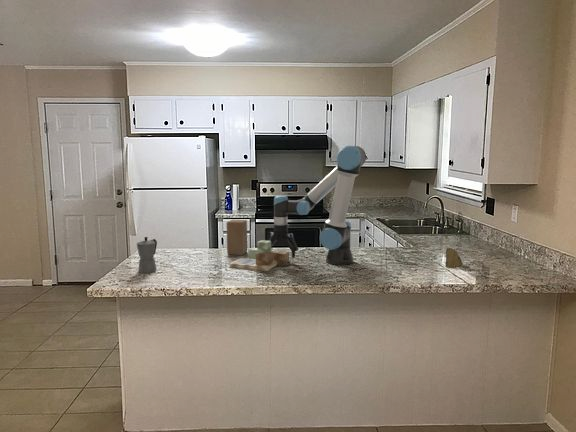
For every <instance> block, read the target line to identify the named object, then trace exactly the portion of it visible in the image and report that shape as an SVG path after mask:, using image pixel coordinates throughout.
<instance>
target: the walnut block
mask: <svg viewBox="0 0 576 432" xmlns="http://www.w3.org/2000/svg"><path fill="white" fill-rule="evenodd" d="M273 261H277V265H286V264H288V263H289V262H290V251H289V250H288V251H287V250H275V251H273Z"/></svg>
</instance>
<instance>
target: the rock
mask: <svg viewBox="0 0 576 432" xmlns="http://www.w3.org/2000/svg"><path fill="white" fill-rule="evenodd" d="M460 266H463V260H462V259H461V257H460V256H459V254H458V251H457V250H456V249H453V248H451V247H447V248H446V250H445V265H444V267H445V268H447V269H449V268H451V269H452V268H457V267H460Z"/></svg>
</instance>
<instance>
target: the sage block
mask: <svg viewBox="0 0 576 432" xmlns="http://www.w3.org/2000/svg"><path fill="white" fill-rule="evenodd" d="M247 252H248V258H247V259H256V253H257V247H251V248H249V249H247Z"/></svg>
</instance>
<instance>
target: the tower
mask: <svg viewBox="0 0 576 432" xmlns="http://www.w3.org/2000/svg"><path fill="white" fill-rule="evenodd" d="M271 242H272V241H271V240H270V241H267V239H262V240H258V241H257V242H256V244H257V245H256V248H257V253H256V265H266V266H268V265H270V264H271V263H273V253H274V251H271V249H272V247H271Z"/></svg>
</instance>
